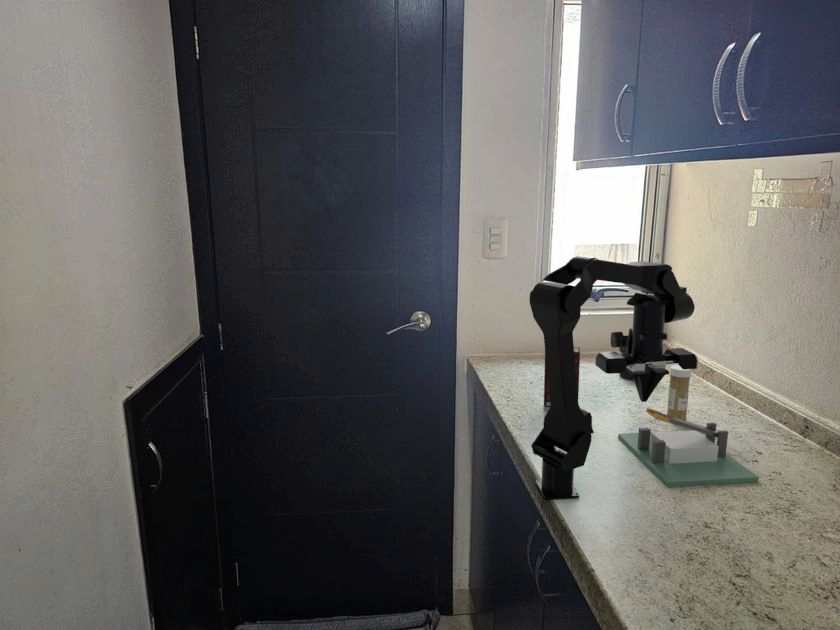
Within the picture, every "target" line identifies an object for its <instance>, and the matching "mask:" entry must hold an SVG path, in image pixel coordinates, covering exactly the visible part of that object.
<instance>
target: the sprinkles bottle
mask: <svg viewBox="0 0 840 630" xmlns="http://www.w3.org/2000/svg"><path fill="white" fill-rule="evenodd" d="M691 376H692V369H685V370H684V369H682V368H681V367H680V366H679V364H673V365H671V366H670V368H669V386H668V395H667V396H668V397H667V411H666V412H667V414H666V415H669V416H672V417H675V418H678V419H682V420H685V421H687V412H688V405H689V404H688V403H689V394H690V393H689V389H690V378H691Z"/></svg>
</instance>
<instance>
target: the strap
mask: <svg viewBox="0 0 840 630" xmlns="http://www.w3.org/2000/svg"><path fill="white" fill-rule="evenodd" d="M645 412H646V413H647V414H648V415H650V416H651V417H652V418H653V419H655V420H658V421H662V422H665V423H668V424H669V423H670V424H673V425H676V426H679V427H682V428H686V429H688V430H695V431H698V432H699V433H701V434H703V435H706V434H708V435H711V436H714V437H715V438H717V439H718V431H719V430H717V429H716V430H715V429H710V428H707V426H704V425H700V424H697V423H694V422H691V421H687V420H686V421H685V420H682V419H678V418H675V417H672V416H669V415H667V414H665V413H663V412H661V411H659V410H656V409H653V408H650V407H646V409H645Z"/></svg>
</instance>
